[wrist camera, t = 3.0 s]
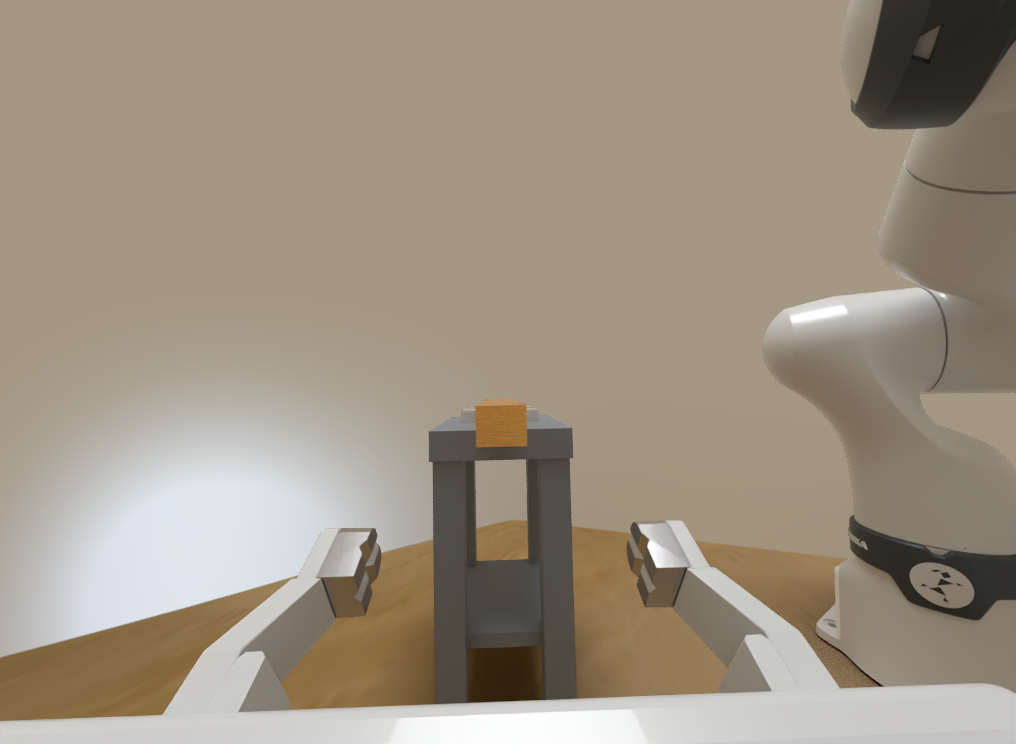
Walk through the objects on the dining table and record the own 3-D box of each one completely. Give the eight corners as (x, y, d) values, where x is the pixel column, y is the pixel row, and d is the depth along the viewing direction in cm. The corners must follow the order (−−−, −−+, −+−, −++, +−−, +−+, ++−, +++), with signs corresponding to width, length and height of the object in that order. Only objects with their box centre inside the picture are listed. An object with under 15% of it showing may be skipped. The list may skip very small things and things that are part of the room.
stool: (455, 627, 44) (452, 417, 46) (551, 623, 45) (546, 414, 46) (431, 760, 28) (428, 431, 30) (581, 753, 29) (572, 427, 30)
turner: (467, 417, 45) (467, 398, 45) (531, 415, 45) (530, 396, 45) (433, 448, 21) (432, 407, 21) (569, 444, 21) (568, 403, 21)
